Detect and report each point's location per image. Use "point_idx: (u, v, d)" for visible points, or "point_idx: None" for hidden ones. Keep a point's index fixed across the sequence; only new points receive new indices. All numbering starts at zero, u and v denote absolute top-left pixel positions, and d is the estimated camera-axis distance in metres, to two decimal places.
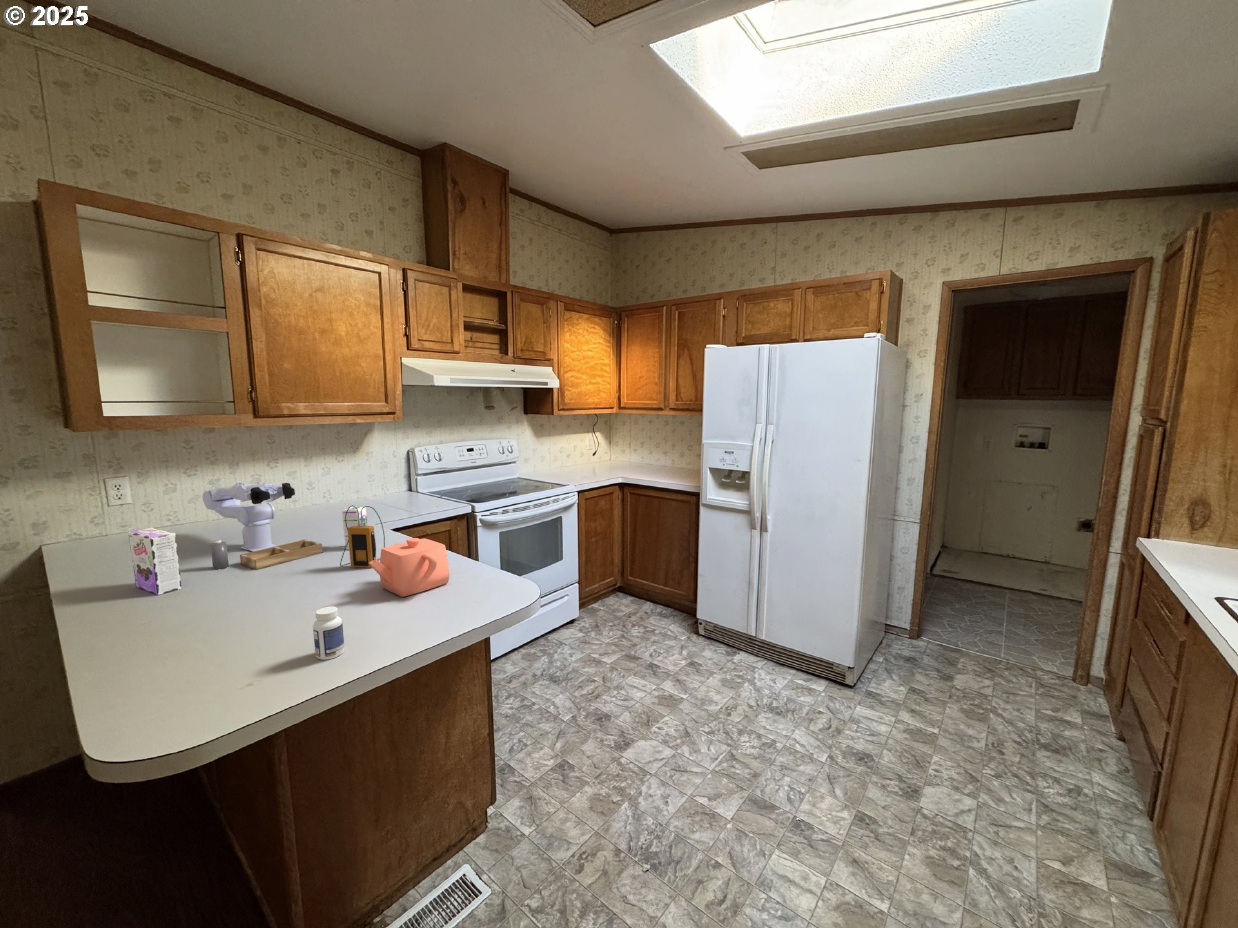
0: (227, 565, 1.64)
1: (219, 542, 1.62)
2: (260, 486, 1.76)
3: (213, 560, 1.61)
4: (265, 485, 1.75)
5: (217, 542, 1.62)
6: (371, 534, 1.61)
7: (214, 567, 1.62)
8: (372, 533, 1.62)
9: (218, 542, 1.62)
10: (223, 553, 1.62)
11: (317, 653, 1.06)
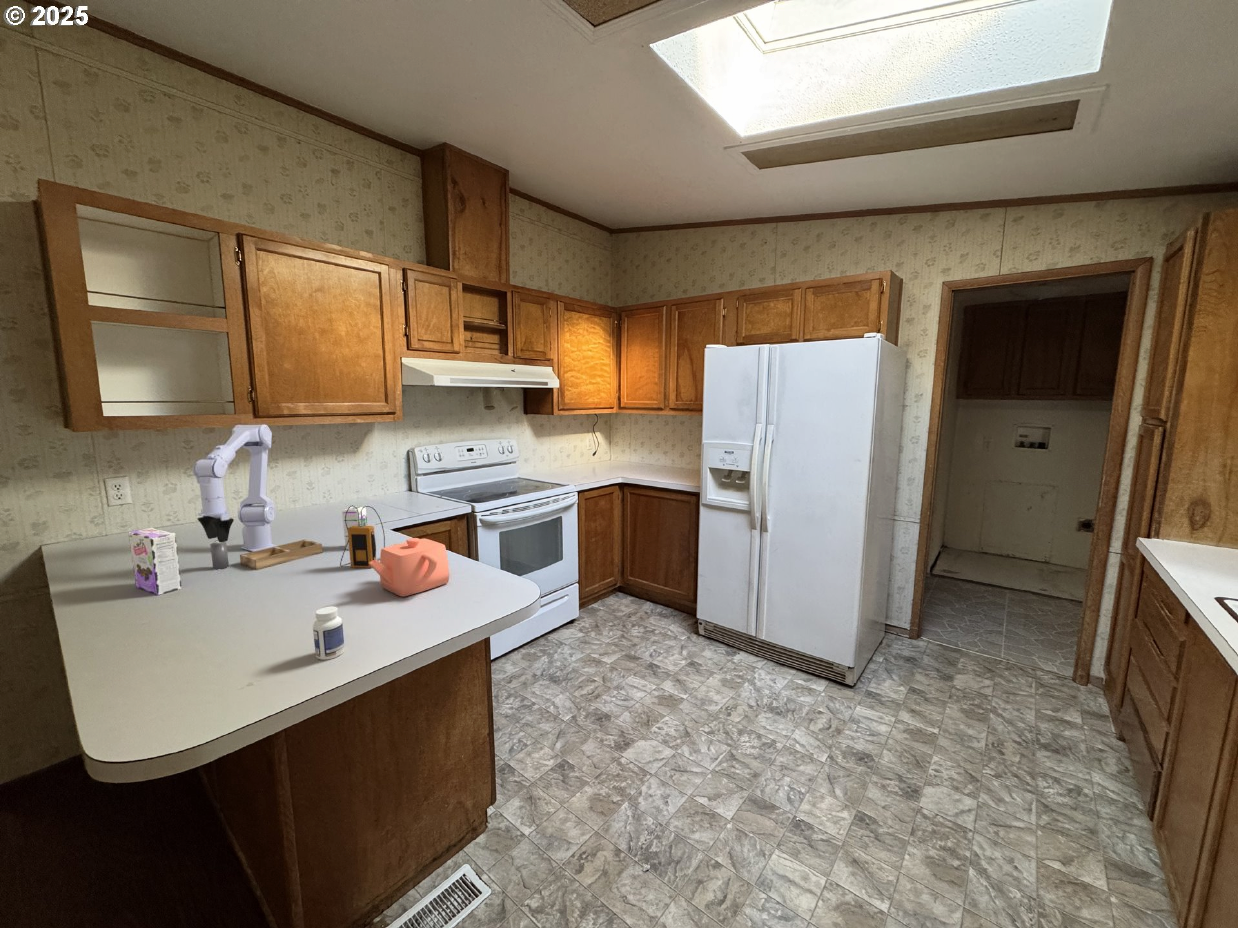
0: (227, 565, 1.64)
1: (219, 542, 1.62)
2: None
3: (213, 560, 1.61)
4: None
5: (217, 542, 1.62)
6: (371, 534, 1.61)
7: (214, 567, 1.62)
8: (372, 533, 1.62)
9: (218, 542, 1.62)
10: (223, 553, 1.62)
11: (317, 653, 1.06)
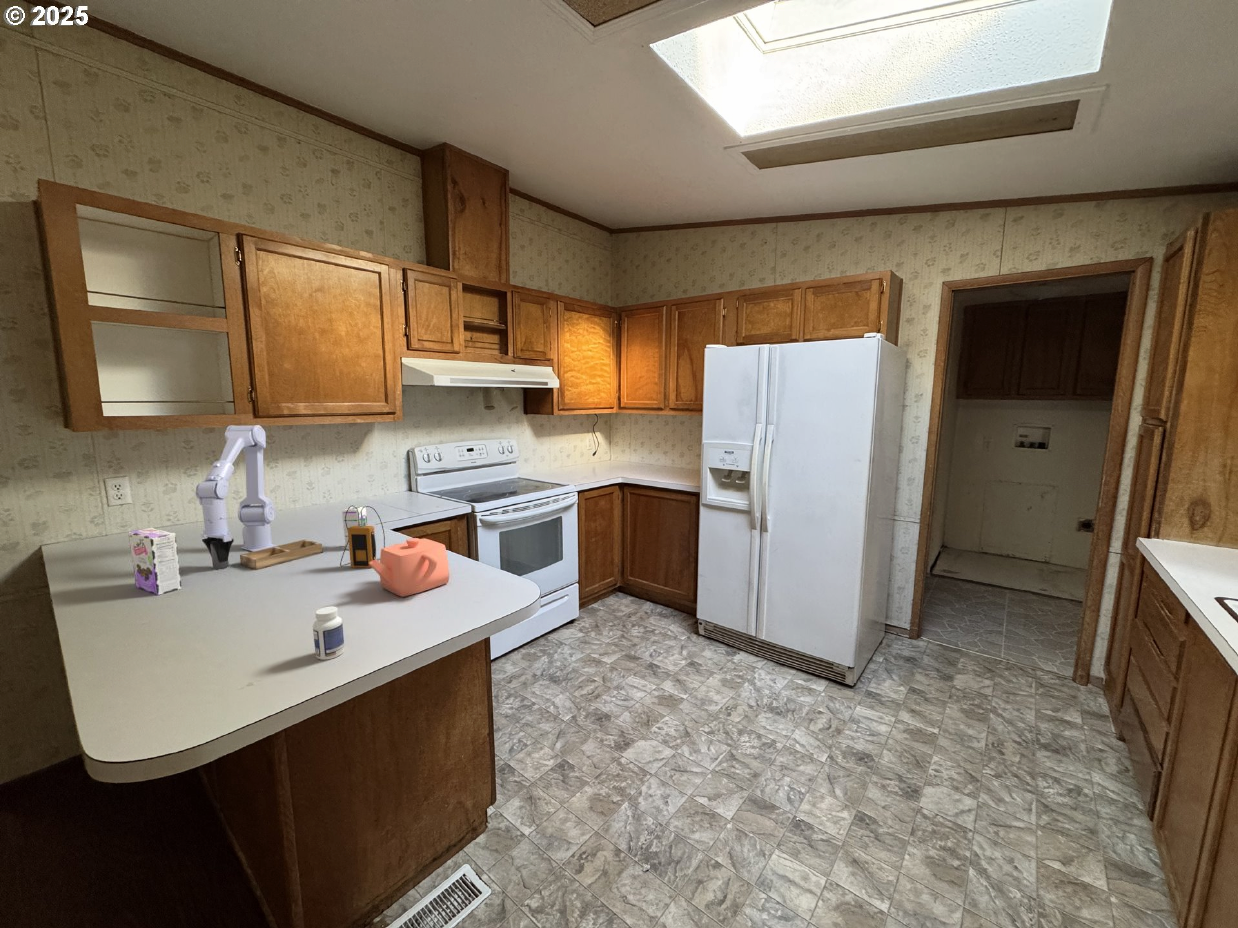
0: (227, 565, 1.64)
1: None
2: (205, 528, 1.60)
3: (213, 560, 1.61)
4: None
5: None
6: (371, 534, 1.61)
7: (214, 567, 1.62)
8: (372, 533, 1.62)
9: None
10: None
11: (317, 653, 1.06)
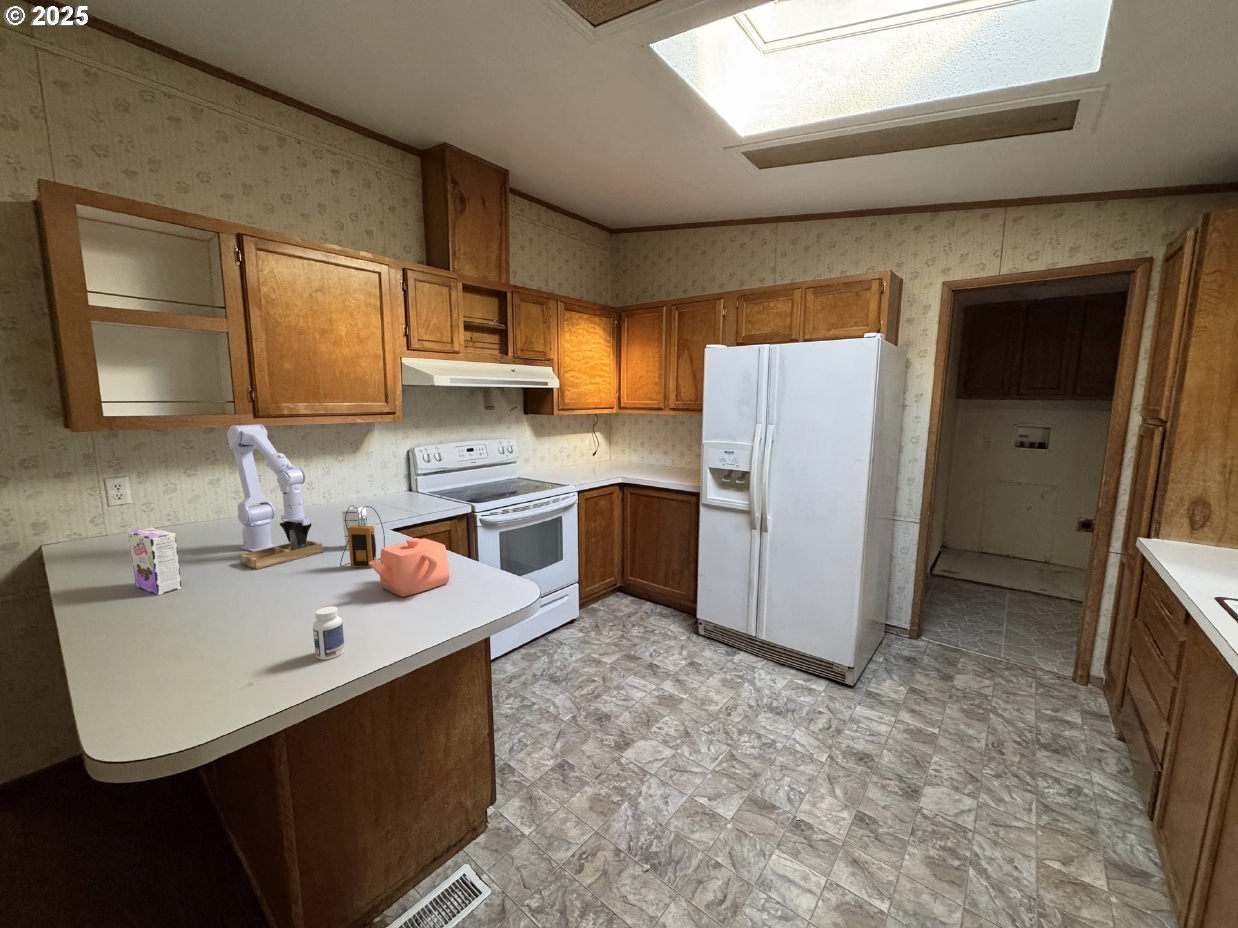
0: None
1: None
2: (284, 513, 1.73)
3: (292, 545, 1.74)
4: None
5: None
6: (371, 534, 1.61)
7: None
8: (372, 533, 1.62)
9: None
10: None
11: (317, 653, 1.06)
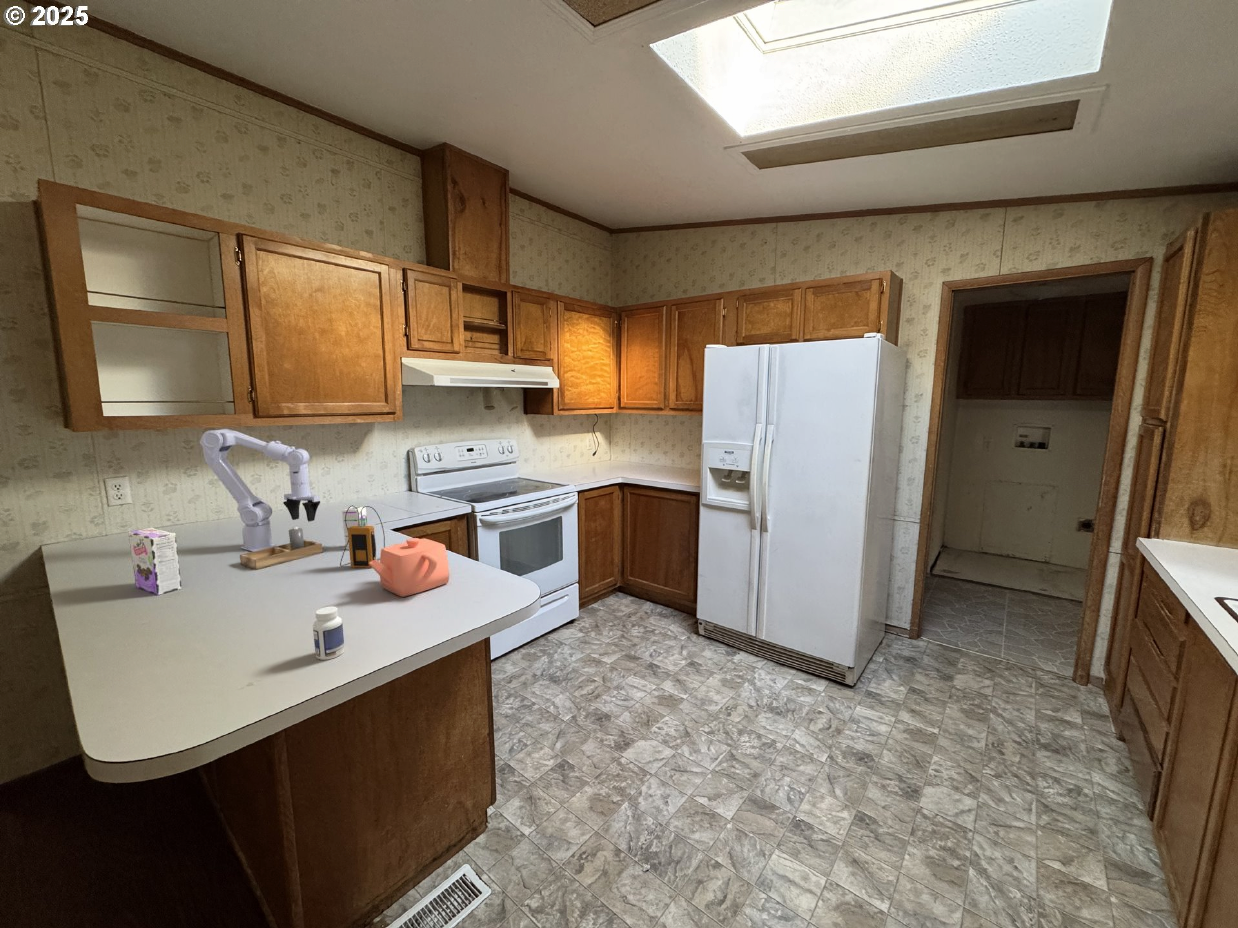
0: None
1: (296, 528, 1.75)
2: (291, 491, 1.83)
3: (291, 545, 1.74)
4: None
5: (295, 528, 1.75)
6: (371, 534, 1.61)
7: None
8: (372, 533, 1.62)
9: (296, 528, 1.75)
10: (300, 538, 1.75)
11: (317, 653, 1.06)
